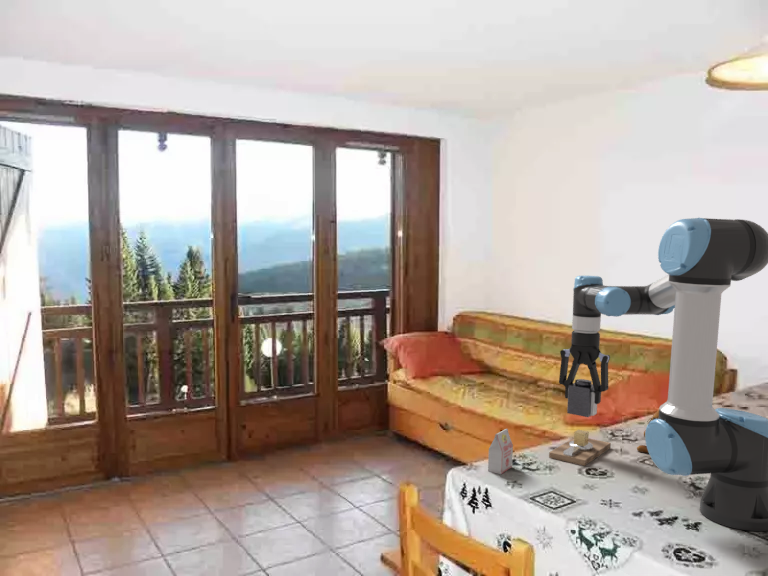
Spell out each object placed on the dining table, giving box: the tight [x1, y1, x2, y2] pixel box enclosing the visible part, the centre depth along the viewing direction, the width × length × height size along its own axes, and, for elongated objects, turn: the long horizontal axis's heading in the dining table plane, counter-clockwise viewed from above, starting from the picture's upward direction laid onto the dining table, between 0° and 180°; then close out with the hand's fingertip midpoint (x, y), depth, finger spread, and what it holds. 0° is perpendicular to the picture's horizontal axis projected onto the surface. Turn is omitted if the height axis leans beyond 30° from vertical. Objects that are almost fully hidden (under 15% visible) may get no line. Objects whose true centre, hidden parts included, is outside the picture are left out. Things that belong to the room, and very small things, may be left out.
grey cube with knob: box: [566, 378, 594, 418], centre depth 183 cm, size 6×6×9 cm
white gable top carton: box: [487, 428, 514, 475], centre depth 170 cm, size 4×7×10 cm, turn 145°
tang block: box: [548, 429, 612, 467], centre depth 184 cm, size 20×10×6 cm, turn 142°
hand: (581, 412), depth 184 cm, fingers closed on grey cube with knob, 6 cm apart
